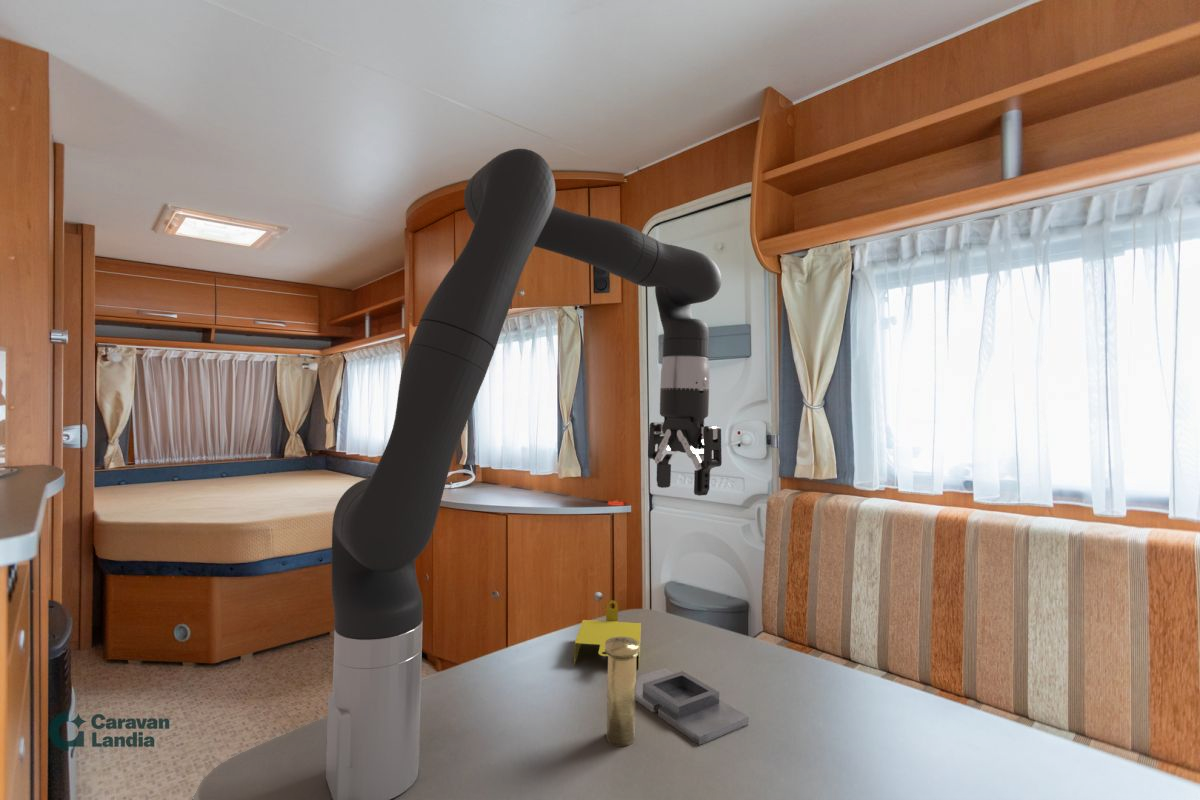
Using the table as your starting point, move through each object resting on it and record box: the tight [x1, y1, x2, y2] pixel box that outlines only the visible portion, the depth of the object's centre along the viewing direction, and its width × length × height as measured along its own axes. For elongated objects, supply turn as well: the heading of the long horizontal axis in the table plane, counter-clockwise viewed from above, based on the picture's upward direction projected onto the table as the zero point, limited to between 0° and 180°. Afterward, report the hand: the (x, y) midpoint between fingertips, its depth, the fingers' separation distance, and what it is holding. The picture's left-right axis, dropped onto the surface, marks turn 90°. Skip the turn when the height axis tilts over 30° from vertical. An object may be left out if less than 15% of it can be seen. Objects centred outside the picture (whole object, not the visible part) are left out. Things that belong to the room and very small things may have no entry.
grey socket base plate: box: [635, 667, 749, 746], centre depth 82 cm, size 9×17×2 cm, turn 34°
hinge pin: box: [604, 637, 641, 747], centre depth 74 cm, size 4×4×12 cm
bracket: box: [573, 599, 642, 670], centre depth 97 cm, size 16×8×15 cm
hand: (681, 491), depth 91 cm, fingers open, 8 cm apart
